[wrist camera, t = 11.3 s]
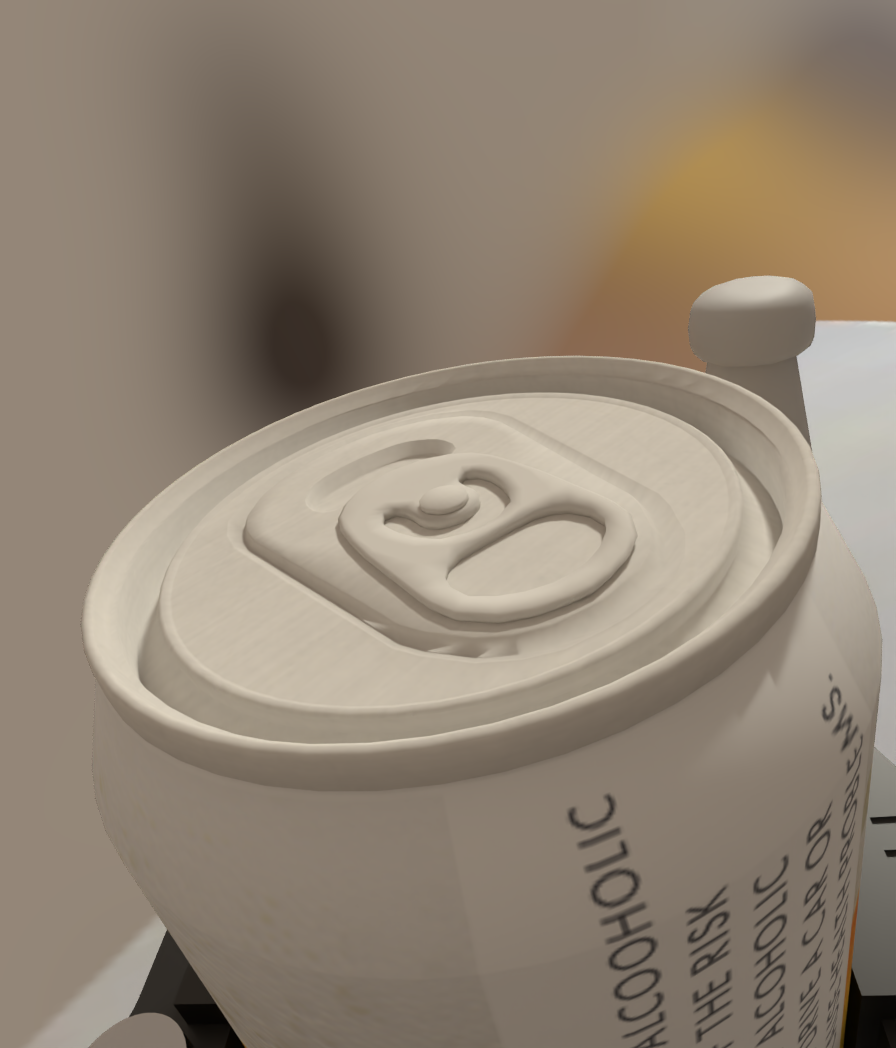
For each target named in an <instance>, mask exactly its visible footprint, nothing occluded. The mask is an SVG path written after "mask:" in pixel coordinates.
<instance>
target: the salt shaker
mask: <svg viewBox="0 0 896 1048" xmlns="http://www.w3.org/2000/svg"><path fill="white" fill-rule="evenodd" d="M815 322H816V317H815V306H814V300H813V294H812V291H811V290H810V289H808V288H807V287H806V286H805V285H804V284H803V283H801V282H799V281H797V280H795V279H793V278H786V277H777V276H756V277H747V278H741V279H735V280H732V281H729V282H726V283H723V284H720V285H716V286H713V287H712V288H710V289H709V290H707V291H705V292H704V293H702V294H701V296H699V298H698V299H697V300H696V301H695V302H694V303H693V306H692V308H691V311H690V318H689V326H688V333H689V341H690V346H691V349H692V351H693V352H694V354H695V355H696V356H697V357H698V358H700V359H701V360H702V361H704V362H707V367H706V374H709V375H713V376H716V377H718V378H721V379H724V380H726V381H729V382H731V383H734V384H736V385H739V386H741V387H743V388H745V389H746V390H748V391H750V392H752V393H754V394H756V395H758V396H760V397H761V398H763V399H764V400H766V401H767V402H769V403H770V404H771V405H773V406H774V407H776V408H777V409H778V410H780V411H781V412H782V413H783V414H784V415H785V416H786V417H787V418H788V419H789V420H790V421H791V422H792V423H793V424H794V425H795V426H796V427H797V428H798V430H799V431H800V432H801V434H802V435H803V437H804V438H805V440H806V441H807V443H808V444H809V446H810V448H811V442H810V436H809V430H808V424H807V418H806V412H805V406H804V399H803V393H802V387H801V381H800V375H799V369H798V363H797V357H796V356H797V355H799V354H800V353H802V352H803V351H804V350H805V349H807V348H808V347H809V346H811V343H812V341H813V338H814V333H815ZM811 451H812V448H811Z"/></svg>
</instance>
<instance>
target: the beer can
mask: <svg viewBox="0 0 896 1048" xmlns="http://www.w3.org/2000/svg"><path fill="white" fill-rule="evenodd" d="M821 497H822V495H821V486H820V476H819V470H818V467H817V464H816V462H815V459H814V456H813V454H812V451H811V448H810V446H809V444H808V443H807V441H806V440H805V438H804V437H803V435H802V434H801V432H800V431H799V430H798V428H797V427H796V426H795V425H794V424H793V423H792V422H791V421H790V420H789V419H788V418H787V417H786V416H785V415H784V414H783V413H782V412H781V411H780V410H778V409H777V408H776V407H774V406H773V405H771V404H770V403H769V402H767V401H766V400H764V399H763V398H761V397H760V396H758V395H756V394H754V393H752V392H750V391H748V390H746V389H745V388H743V387H741V386H739V385H736V384H734V383H731V382H729V381H726V380H724V379H721V378H718V377H716V376H713V375H709V374H706V373H702V372H699V371H696V370H692V369H689V368H684V367H679V366H674V365H669V364H665V363H659V362H652V361H645V360H638V359H628V358H616V357H599V356H598V357H597V356H596V357H595V356H546V357H530V358H516V359H507V360H497V361H489V362H483V363H475V364H468V365H462V366H457V367H451V368H445V369H440V370H435V371H430V372H426V373H422V374H417V375H412V376H408V377H404V378H400V379H396V380H393V381H389V382H385V383H381V384H378V385H374V386H371V387H368V388H364V389H361V390H358V391H355V392H351V393H349V394H346V395H343V396H340V397H337V398H334V399H331V400H328V401H326V402H323V403H320V404H318V405H315V406H313V407H310V408H308V409H305V410H302V411H300V412H298V413H295V414H293V415H291V416H289V417H286V418H284V419H282V420H279V421H277V422H275V423H273V424H271V425H269V426H266V427H264V428H263V429H261V430H259V431H256V432H254V433H252V434H250V435H248V436H247V437H245V438H243V439H241V440H239V441H237V442H236V443H234V444H232V445H231V446H228V447H227V448H225V449H223V450H222V451H220V452H218V453H217V454H215V455H213V456H212V457H210V458H208V459H207V460H205V461H204V462H202V463H200V464H199V465H197V466H196V467H194V468H193V469H191V470H190V471H189V472H187V473H186V474H184V475H183V476H182V477H180V478H179V479H178V480H176V481H175V482H173V483H172V484H171V485H170V486H168V487H167V488H166V489H165V490H163V491H162V492H161V493H160V494H159V495H157V496H156V497H155V498H154V499H152V500H151V501H150V502H149V503H148V504H147V505H146V506H145V507H144V508H143V509H142V510H141V511H140V512H139V513H138V514H137V515H136V516H135V517H134V518H133V519H132V520H131V521H130V522H129V523H128V524H127V525H126V527H125V528H124V529H123V530H122V531H121V532H120V533H119V535H118V536H117V537H116V538H115V540H114V541H113V542H112V544H111V545H110V547H109V548H108V550H107V551H106V552H105V554H104V555H103V557H102V558H101V560H100V562H99V564H98V566H97V568H96V570H95V572H94V574H93V575H92V578H91V579H90V582H89V585H88V589H87V592H86V595H85V598H84V601H83V609H82V617H81V631H82V640H83V648H84V652H85V655H86V657H87V660H88V663H89V665H90V668H91V670H92V673H93V675H94V677H95V678H96V679H95V703H94V729H93V752H92V772H93V781H94V790H95V799H96V802H97V805H98V808H99V812H100V815H101V818H102V821H103V824H104V827H105V831H106V832H107V834H108V836H109V838H110V840H111V841H112V843H113V845H114V847H115V849H116V850H117V852H118V854H119V856H120V858H121V859H122V861H123V863H124V865H125V866H126V868H127V869H128V870H129V872H130V873H131V875H132V877H133V878H134V879H135V881H136V883H137V884H138V886H139V887H140V889H141V890H142V892H143V893H144V895H145V896H146V898H147V899H148V901H149V902H150V904H151V905H152V907H153V908H154V910H155V911H156V913H157V915H158V916H159V918H160V919H161V921H162V922H163V924H164V925H165V927H166V928H167V930H168V931H169V933H170V934H171V936H172V937H173V939H174V940H175V942H176V943H177V945H178V946H179V948H180V949H181V951H182V952H183V954H184V955H185V957H186V958H187V960H188V961H189V963H190V965H191V966H192V968H193V969H194V971H195V972H196V974H197V975H198V977H199V978H200V980H201V981H202V983H203V984H204V986H205V987H206V989H207V990H208V992H209V993H210V995H211V996H212V998H213V999H214V1001H215V1002H216V1004H217V1005H218V1007H219V1008H220V1010H221V1011H222V1013H223V1015H224V1016H225V1018H226V1019H227V1021H228V1022H229V1024H230V1025H231V1027H232V1028H233V1030H234V1031H235V1033H236V1034H237V1036H238V1037H239V1039H240V1040H241V1042H242V1043H243V1045H244V1046H245V1048H843V1046H844V1036H845V1026H846V1016H847V1006H848V997H849V987H850V977H851V967H852V957H853V948H854V938H855V928H856V918H857V908H858V899H859V889H860V879H861V869H862V860H863V850H864V840H865V830H866V820H867V811H868V801H869V791H870V781H871V771H872V762H873V752H874V742H875V732H876V722H877V713H878V703H879V693H880V683H881V667H882V636H881V630H880V624H879V618H878V613H877V607H876V604H875V602H874V599H873V597H872V594H871V591H870V589H869V586H868V584H867V581H866V578H865V576H864V574H863V573H862V571H861V569H860V567H859V566H858V564H857V562H856V560H855V559H854V557H853V555H852V553H851V552H850V550H849V548H848V546H847V545H846V543H845V541H844V539H843V538H842V536H841V534H840V532H839V531H838V529H837V527H836V525H835V524H834V522H833V520H832V518H831V517H830V515H829V513H828V511H827V510H826V508H825V506H824V504H823V503H822V501H821Z"/></svg>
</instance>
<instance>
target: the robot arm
mask: <svg viewBox="0 0 896 1048" xmlns="http://www.w3.org/2000/svg"><path fill="white" fill-rule="evenodd" d="M89 1048H245V1046H244V1045H243V1043H242V1042H241V1040H240V1039H239V1037H238V1036H237V1034H236V1033H235V1031H234V1030H233V1028H232V1027H231V1025H230V1024H229V1022H228V1021H227V1019H226V1018H225V1016H224V1015H223V1013H222V1011H221V1010H220V1008H219V1007H218V1005H217V1004H216V1002H215V1001H214V999H213V998H212V996H211V995H210V993H209V992H208V990H207V989H206V987H205V986H204V984H203V983H202V981H201V980H200V978H199V977H198V975H197V974H196V972H195V971H194V969H193V968H192V966H191V965H190V963H189V961H188V960H187V958H186V957H185V955H184V954H183V952H182V951H181V949H180V948H179V946H178V945H177V943H176V942H175V940H174V939H173V937H172V936H171V934H170V933H169V931H168V930H167V931H166V934H165V936H164V938H163V941H162V943H161V946H160V948H159V951H158V953H157V955H156V958H155V960H154V963H153V965H152V968H151V970H150V973H149V975H148V977H147V980H146V982H145V985H144V987H143V990H142V992H141V994H140V997H139V999H138V1001H137V1003H136V1005H135V1007H134V1010H133V1011H132V1013H131V1015H130V1016H129V1018H126V1019H124V1020H122V1021H120V1022H119V1023H117V1024H115V1025H113V1026H112V1027H111V1028H109V1029H108V1030H107V1031H105V1032H104V1033H103V1034H102V1035H101V1036H99V1037H98V1038H97V1039H96V1040H95V1041H94V1042H93V1043H92V1044H91V1045H90V1047H89ZM843 1048H896V766H895V765H894V764H893V763H892V762H891V761H889V760H888V759H887V758H886V757H885V756H884V755H883V754H882V753H881V752H880V751H878V750H877V749H876V748H875V747H874V752H873V762H872V771H871V781H870V791H869V801H868V811H867V820H866V830H865V840H864V850H863V860H862V869H861V879H860V889H859V899H858V908H857V918H856V928H855V938H854V948H853V957H852V967H851V977H850V987H849V997H848V1006H847V1016H846V1026H845V1036H844V1046H843Z"/></svg>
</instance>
